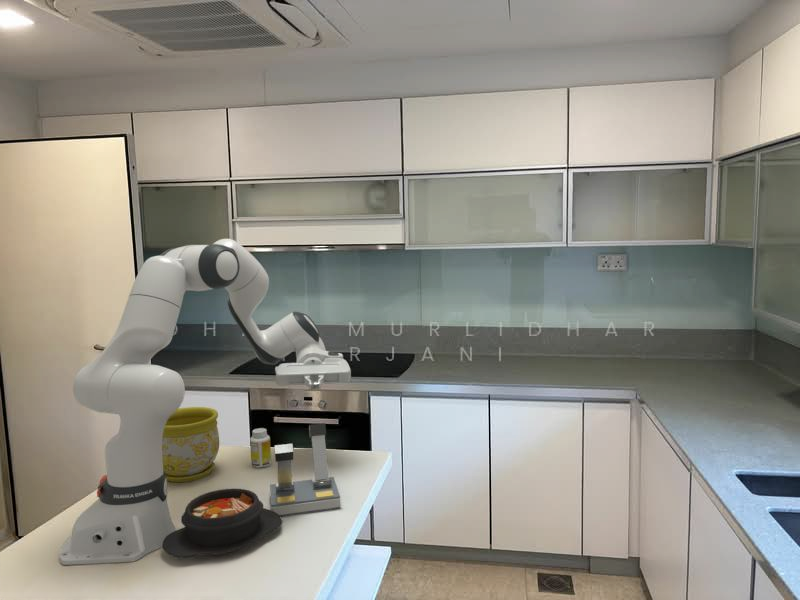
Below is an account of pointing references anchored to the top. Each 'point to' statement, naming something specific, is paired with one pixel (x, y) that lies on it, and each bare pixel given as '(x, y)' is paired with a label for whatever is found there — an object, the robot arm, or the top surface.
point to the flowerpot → (190, 443)
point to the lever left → (284, 467)
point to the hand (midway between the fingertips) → (314, 386)
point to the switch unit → (305, 498)
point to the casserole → (221, 524)
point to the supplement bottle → (260, 448)
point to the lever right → (319, 455)
